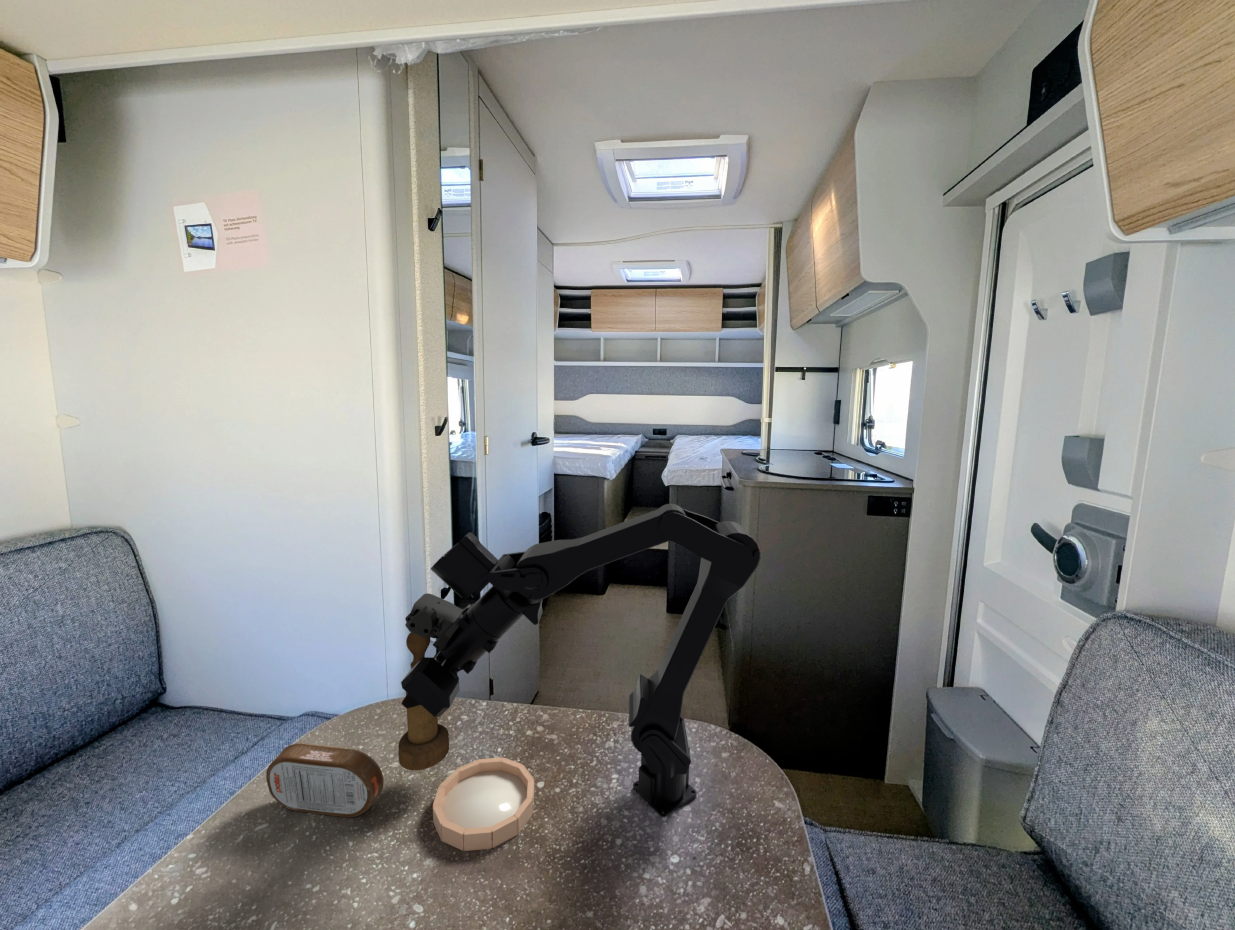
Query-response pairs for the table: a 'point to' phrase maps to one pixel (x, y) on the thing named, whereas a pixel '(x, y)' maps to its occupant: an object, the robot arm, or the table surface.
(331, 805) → the tin
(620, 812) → the table surface
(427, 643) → the mortar and pestle
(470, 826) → the bowl
